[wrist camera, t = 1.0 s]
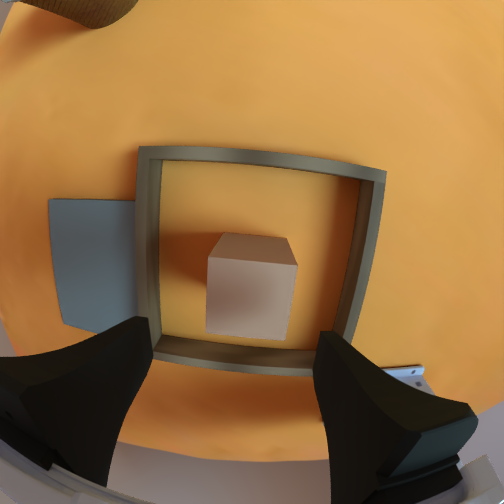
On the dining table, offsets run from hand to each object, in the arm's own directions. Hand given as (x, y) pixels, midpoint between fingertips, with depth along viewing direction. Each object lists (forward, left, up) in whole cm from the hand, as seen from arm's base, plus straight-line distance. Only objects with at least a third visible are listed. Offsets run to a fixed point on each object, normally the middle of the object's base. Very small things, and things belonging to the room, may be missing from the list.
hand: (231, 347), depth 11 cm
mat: (+13, +1, -9) cm, 16 cm away
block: (0, -1, -10) cm, 10 cm away
